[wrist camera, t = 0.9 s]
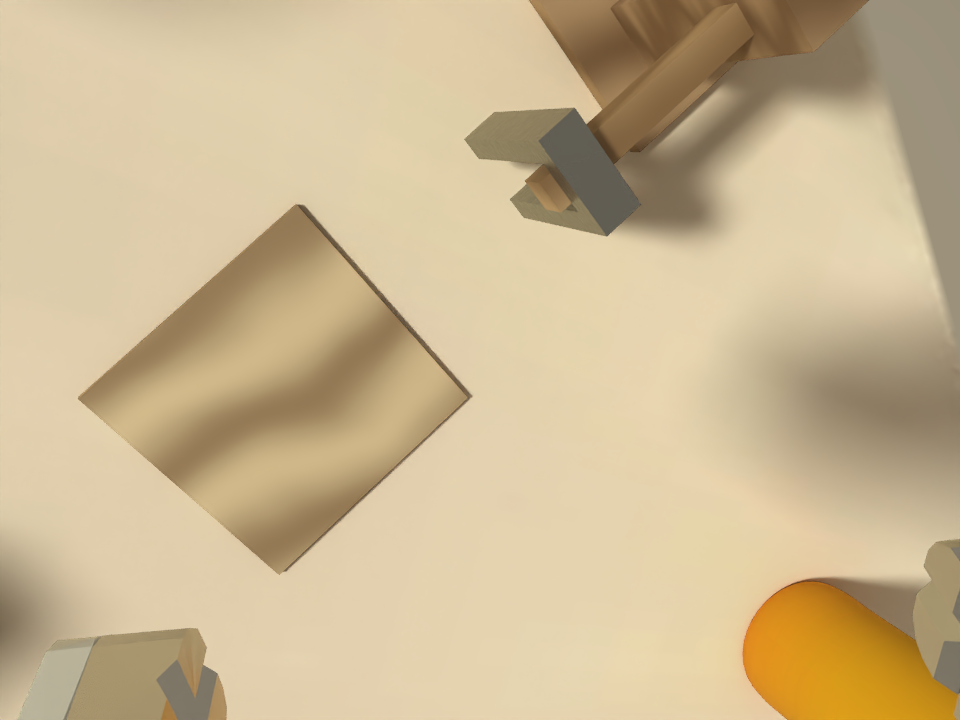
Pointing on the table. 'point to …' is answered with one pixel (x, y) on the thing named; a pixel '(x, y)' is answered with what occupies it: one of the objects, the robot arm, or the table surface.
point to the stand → (669, 57)
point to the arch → (559, 166)
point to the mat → (277, 392)
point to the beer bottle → (838, 661)
